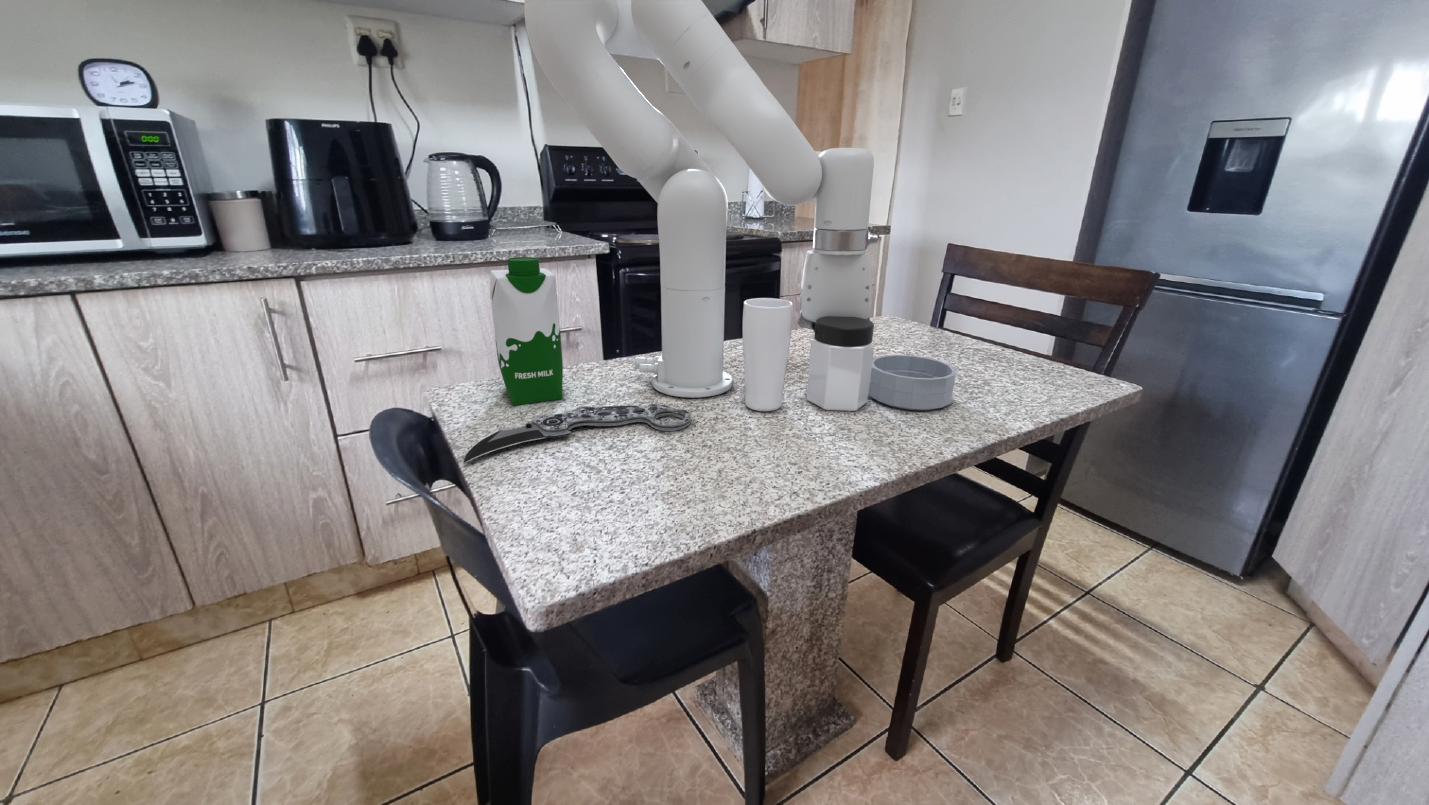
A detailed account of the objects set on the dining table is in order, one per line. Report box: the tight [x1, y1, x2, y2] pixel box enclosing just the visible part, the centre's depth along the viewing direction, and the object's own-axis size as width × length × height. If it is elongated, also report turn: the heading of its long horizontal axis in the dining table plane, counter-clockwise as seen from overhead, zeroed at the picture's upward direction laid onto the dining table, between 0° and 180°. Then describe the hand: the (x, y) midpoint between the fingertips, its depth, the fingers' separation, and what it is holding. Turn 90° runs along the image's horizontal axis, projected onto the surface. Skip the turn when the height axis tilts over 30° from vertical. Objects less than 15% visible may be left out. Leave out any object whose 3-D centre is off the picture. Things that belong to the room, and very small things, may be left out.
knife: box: [462, 403, 692, 464], centre depth 73 cm, size 28×2×10 cm
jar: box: [806, 316, 876, 412], centre depth 84 cm, size 9×8×12 cm
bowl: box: [868, 354, 958, 411], centre depth 87 cm, size 12×12×5 cm
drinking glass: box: [741, 297, 794, 412], centre depth 81 cm, size 7×7×15 cm
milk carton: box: [489, 256, 564, 406], centre depth 83 cm, size 9×9×20 cm
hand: (830, 364), depth 90 cm, fingers closed
